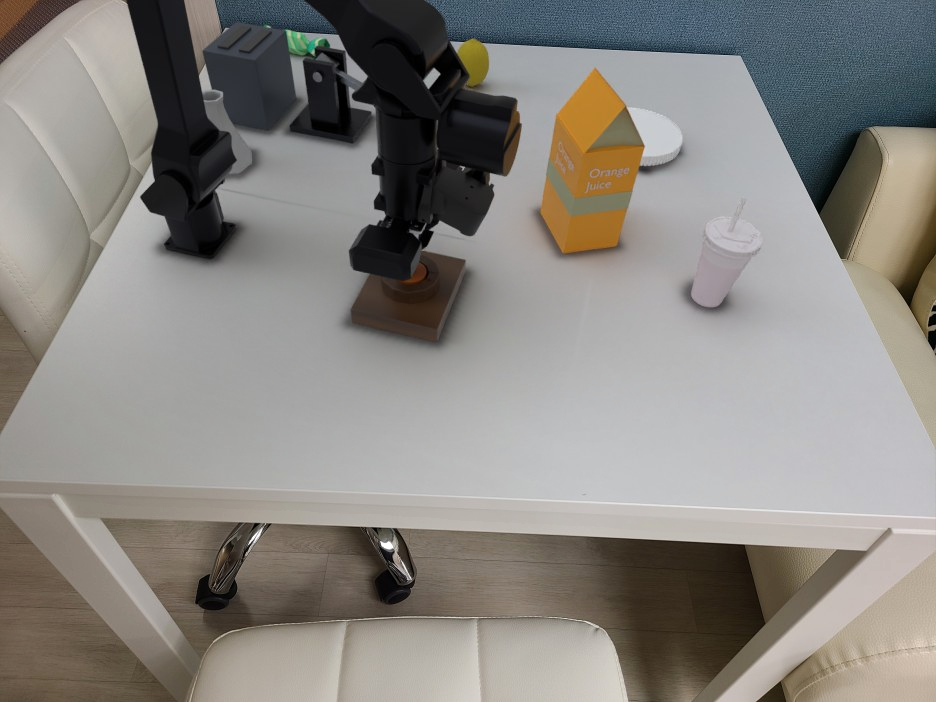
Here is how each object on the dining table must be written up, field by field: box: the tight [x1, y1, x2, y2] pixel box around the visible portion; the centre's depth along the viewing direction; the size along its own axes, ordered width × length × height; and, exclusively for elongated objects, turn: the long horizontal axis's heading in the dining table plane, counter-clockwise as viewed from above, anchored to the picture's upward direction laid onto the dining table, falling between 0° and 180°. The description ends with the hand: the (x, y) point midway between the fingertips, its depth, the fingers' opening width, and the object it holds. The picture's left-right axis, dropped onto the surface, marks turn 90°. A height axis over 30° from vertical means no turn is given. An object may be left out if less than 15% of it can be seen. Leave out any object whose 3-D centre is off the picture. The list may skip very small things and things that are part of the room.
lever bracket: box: [289, 46, 373, 144], centre depth 98 cm, size 10×8×11 cm
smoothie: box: [690, 197, 764, 308], centre depth 76 cm, size 6×6×14 cm
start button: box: [397, 263, 426, 285], centre depth 76 cm, size 4×4×2 cm
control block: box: [350, 250, 467, 343], centre depth 77 cm, size 12×10×4 cm
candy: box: [263, 23, 331, 58], centre depth 116 cm, size 12×3×4 cm
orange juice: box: [539, 67, 645, 254], centre depth 81 cm, size 8×9×20 cm
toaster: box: [201, 21, 297, 132], centre depth 100 cm, size 10×8×11 cm
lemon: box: [456, 38, 490, 88], centre depth 110 cm, size 6×6×8 cm
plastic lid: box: [626, 106, 684, 167], centre depth 102 cm, size 14×14×2 cm
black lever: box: [314, 53, 375, 108], centre depth 96 cm, size 12×3×3 cm, turn 75°
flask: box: [202, 89, 253, 175], centre depth 91 cm, size 7×7×10 cm
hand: (409, 270), depth 76 cm, fingers closed, pressing on start button
